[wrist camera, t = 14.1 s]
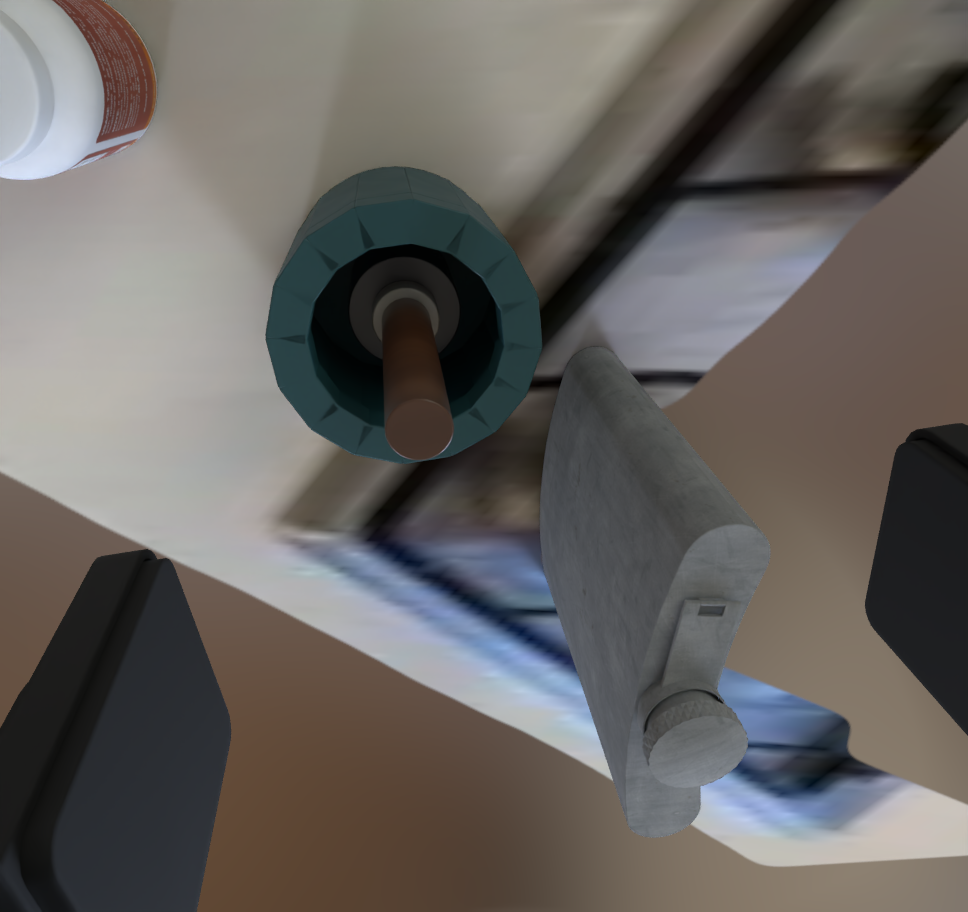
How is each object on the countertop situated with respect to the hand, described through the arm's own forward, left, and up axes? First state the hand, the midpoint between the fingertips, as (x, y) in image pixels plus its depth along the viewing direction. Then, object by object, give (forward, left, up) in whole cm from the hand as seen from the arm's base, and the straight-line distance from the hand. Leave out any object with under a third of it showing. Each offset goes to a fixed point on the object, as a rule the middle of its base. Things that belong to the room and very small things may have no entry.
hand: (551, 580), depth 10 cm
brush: (+3, -2, -28) cm, 29 cm away
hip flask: (+16, +6, -29) cm, 34 cm away
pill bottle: (-7, -13, -29) cm, 33 cm away
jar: (+3, -2, -29) cm, 29 cm away
